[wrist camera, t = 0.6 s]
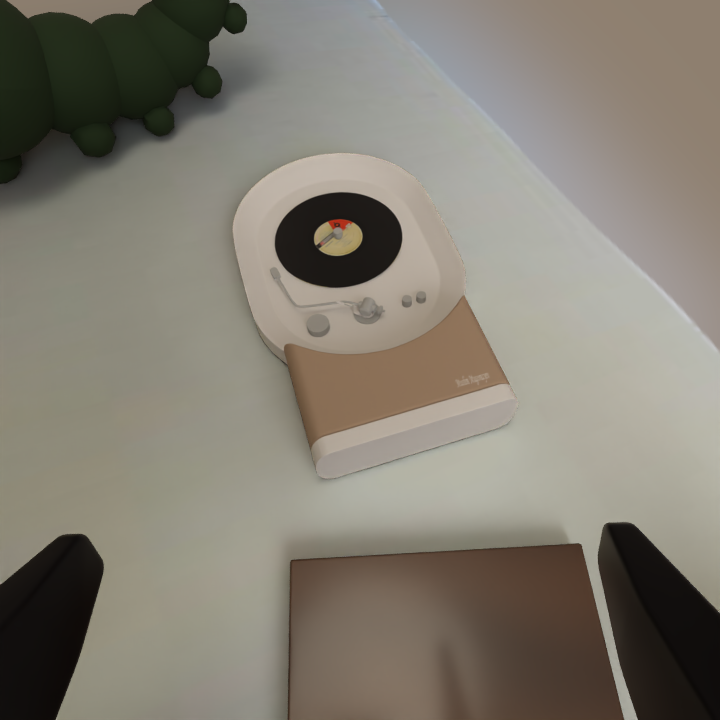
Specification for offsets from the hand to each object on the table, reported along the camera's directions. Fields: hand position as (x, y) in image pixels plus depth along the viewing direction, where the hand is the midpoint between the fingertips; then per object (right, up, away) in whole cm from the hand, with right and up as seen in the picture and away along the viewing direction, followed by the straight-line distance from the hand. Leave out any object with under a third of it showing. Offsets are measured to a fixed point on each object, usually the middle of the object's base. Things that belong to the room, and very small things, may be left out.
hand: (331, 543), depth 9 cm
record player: (0, +7, +21) cm, 22 cm away
